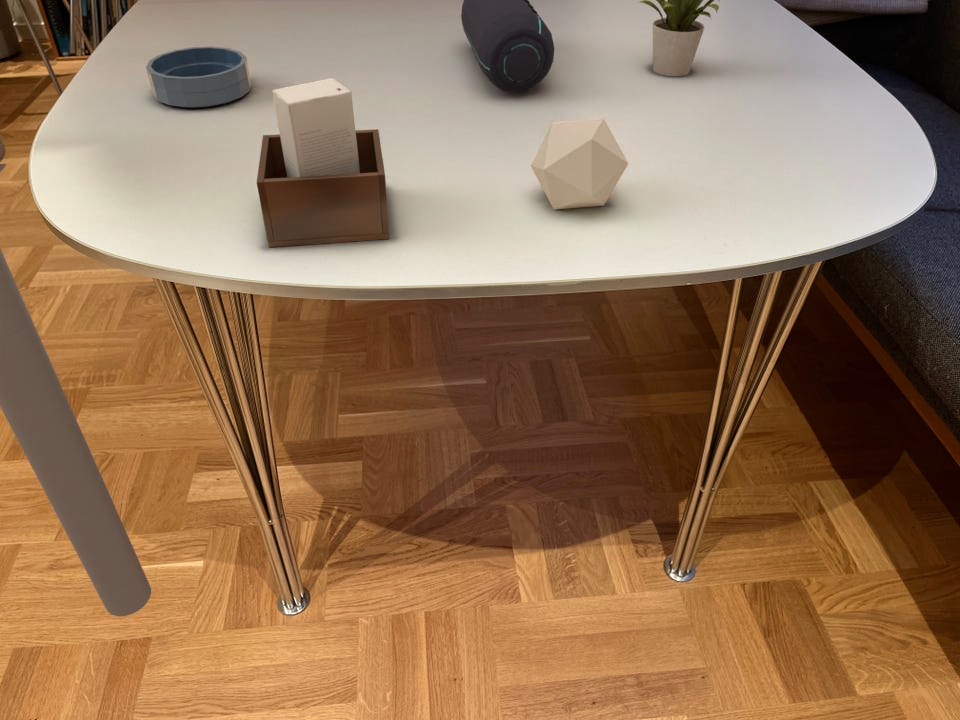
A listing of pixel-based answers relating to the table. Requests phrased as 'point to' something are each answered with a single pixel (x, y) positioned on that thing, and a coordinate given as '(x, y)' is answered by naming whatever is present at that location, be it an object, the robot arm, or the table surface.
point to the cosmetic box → (317, 129)
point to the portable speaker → (508, 42)
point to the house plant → (677, 35)
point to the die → (578, 163)
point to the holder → (323, 198)
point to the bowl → (199, 76)
